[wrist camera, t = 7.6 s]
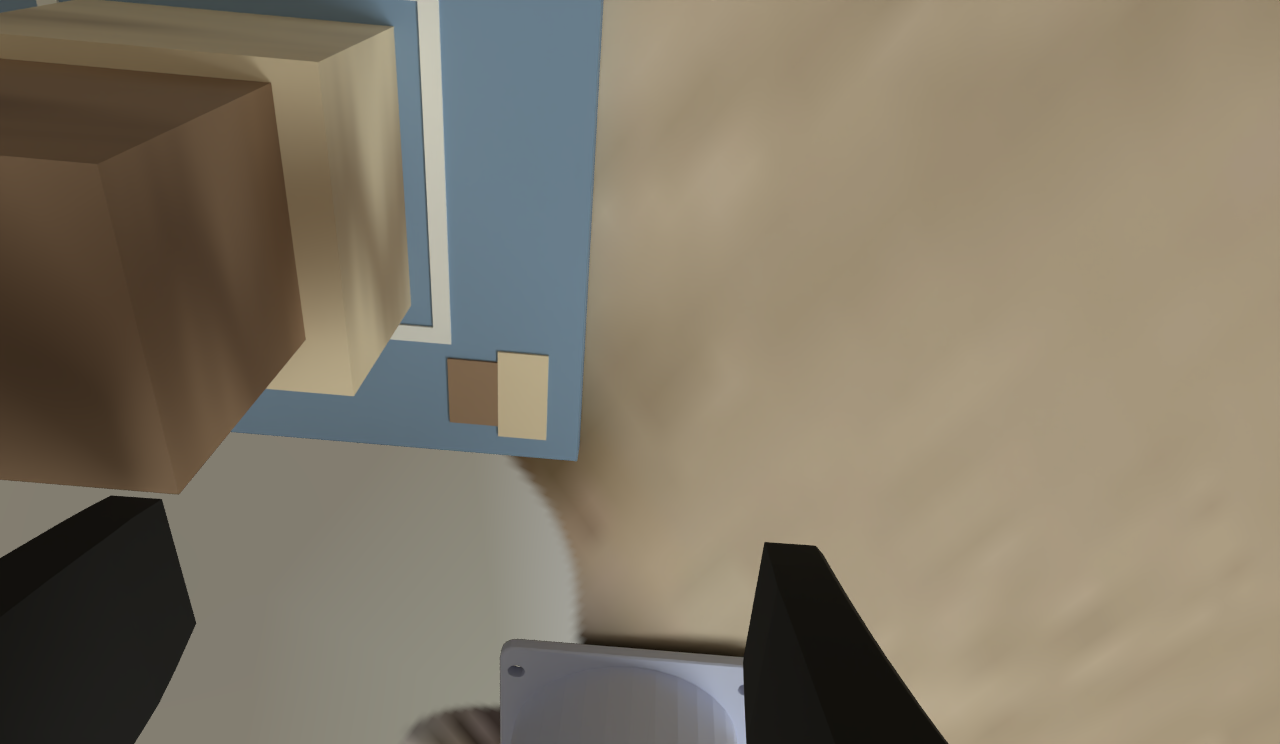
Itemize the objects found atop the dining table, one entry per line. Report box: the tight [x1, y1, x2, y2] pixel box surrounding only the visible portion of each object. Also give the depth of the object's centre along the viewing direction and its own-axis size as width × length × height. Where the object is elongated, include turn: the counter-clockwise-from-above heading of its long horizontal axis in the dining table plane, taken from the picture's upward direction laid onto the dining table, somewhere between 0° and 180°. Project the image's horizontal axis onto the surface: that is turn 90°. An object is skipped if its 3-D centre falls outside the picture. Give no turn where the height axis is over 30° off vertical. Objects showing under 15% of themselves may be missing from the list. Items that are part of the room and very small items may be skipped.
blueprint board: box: [0, 0, 603, 461], centre depth 18 cm, size 14×14×1 cm
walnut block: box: [0, 58, 306, 494], centre depth 12 cm, size 4×4×4 cm
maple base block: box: [0, 0, 411, 396], centre depth 16 cm, size 6×6×4 cm
